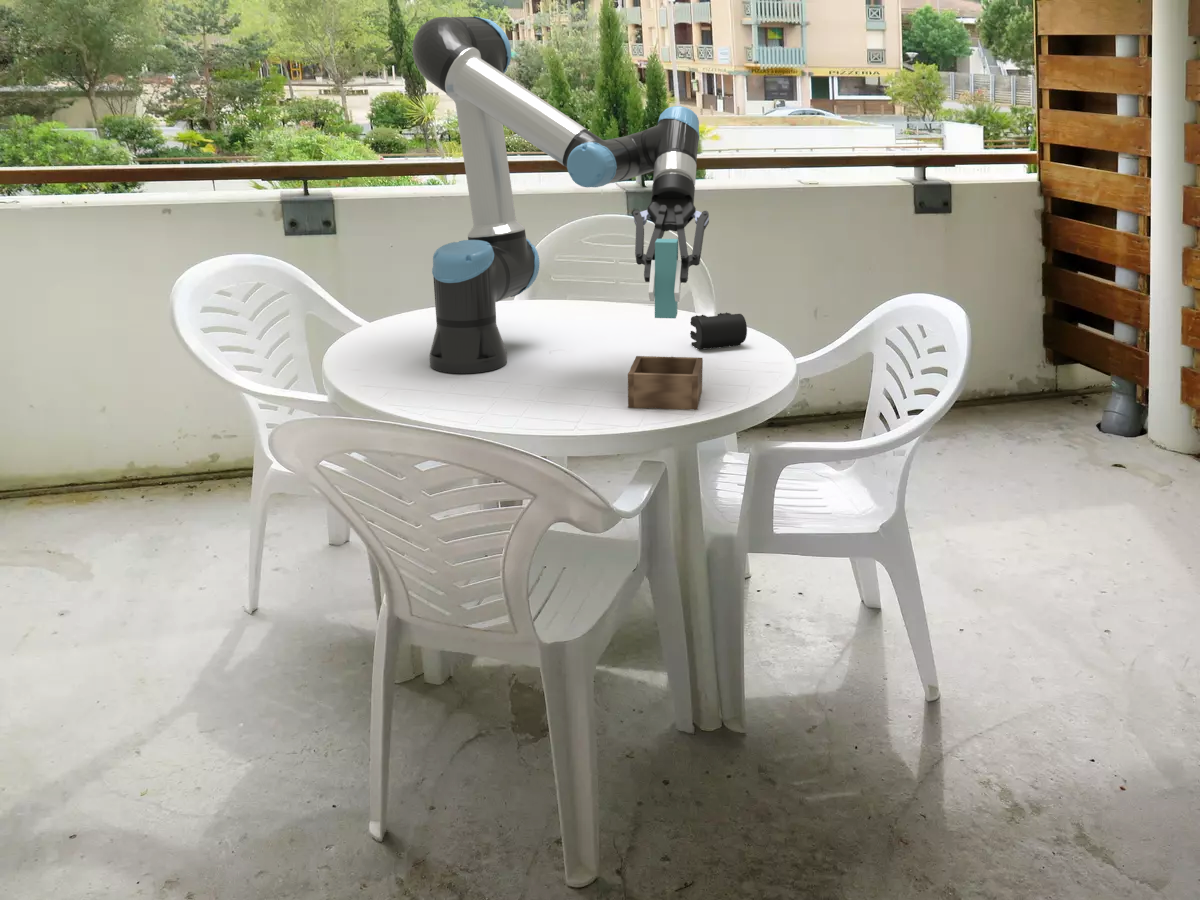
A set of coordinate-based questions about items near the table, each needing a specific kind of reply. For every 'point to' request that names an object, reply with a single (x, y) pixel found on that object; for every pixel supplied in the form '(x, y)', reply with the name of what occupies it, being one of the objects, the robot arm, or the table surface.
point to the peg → (665, 277)
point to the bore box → (665, 382)
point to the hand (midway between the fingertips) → (664, 296)
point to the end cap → (718, 330)
